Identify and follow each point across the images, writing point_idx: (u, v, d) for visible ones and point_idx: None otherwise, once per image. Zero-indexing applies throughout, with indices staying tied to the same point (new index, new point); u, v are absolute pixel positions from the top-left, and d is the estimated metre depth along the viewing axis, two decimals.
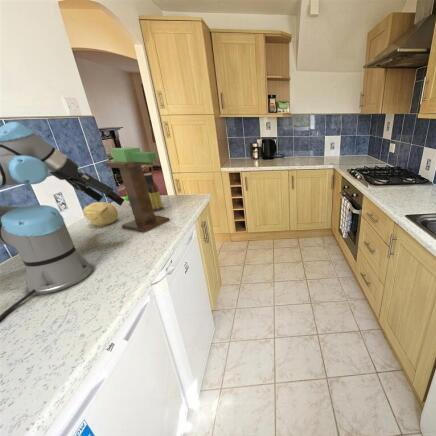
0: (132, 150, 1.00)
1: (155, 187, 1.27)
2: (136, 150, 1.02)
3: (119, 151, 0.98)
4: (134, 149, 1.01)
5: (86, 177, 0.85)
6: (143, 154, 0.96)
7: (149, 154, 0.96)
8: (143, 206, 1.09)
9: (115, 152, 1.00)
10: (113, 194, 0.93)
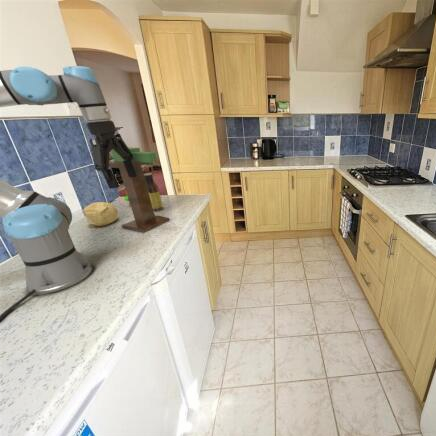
0: (132, 150, 1.00)
1: (155, 187, 1.27)
2: (136, 150, 1.02)
3: None
4: (134, 149, 1.01)
5: (94, 142, 0.77)
6: (143, 154, 0.96)
7: (149, 154, 0.96)
8: (143, 206, 1.09)
9: (115, 152, 1.00)
10: (105, 174, 0.81)
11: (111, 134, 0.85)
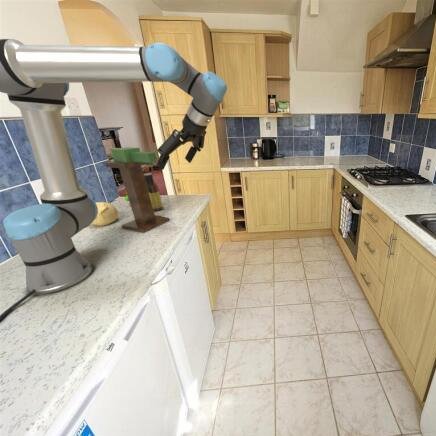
0: (132, 150, 1.00)
1: (155, 187, 1.27)
2: (136, 150, 1.02)
3: (119, 151, 0.98)
4: (134, 149, 1.01)
5: (175, 134, 0.79)
6: (143, 154, 0.96)
7: (149, 154, 0.96)
8: (143, 206, 1.09)
9: (115, 152, 1.00)
10: (161, 157, 0.84)
11: None
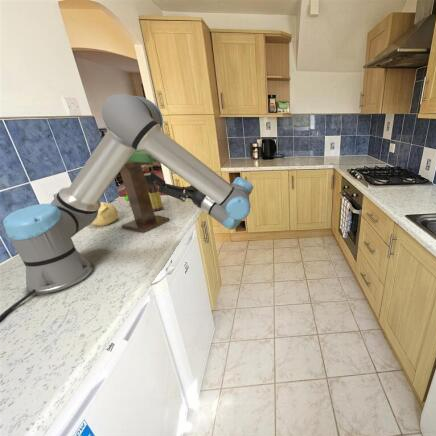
0: None
1: (155, 187, 1.27)
2: (136, 150, 1.02)
3: None
4: None
5: (182, 198, 0.90)
6: (143, 154, 0.96)
7: None
8: (143, 206, 1.09)
9: None
10: (158, 184, 0.90)
11: None
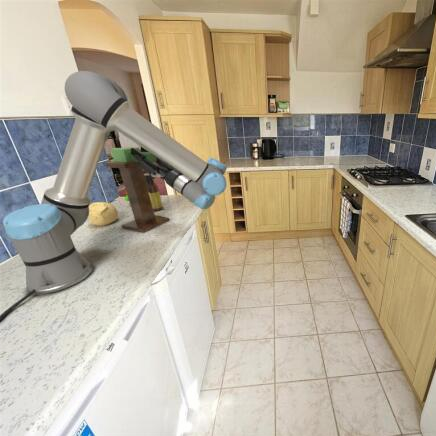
0: None
1: (155, 187, 1.27)
2: None
3: (119, 151, 0.98)
4: None
5: (151, 174, 0.92)
6: (143, 154, 0.96)
7: (149, 154, 0.96)
8: (143, 206, 1.09)
9: (115, 152, 1.00)
10: (137, 158, 0.96)
11: None
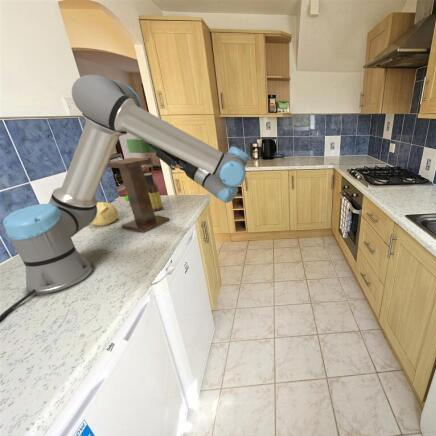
0: None
1: (155, 187, 1.27)
2: None
3: (135, 141, 0.93)
4: None
5: (171, 165, 0.86)
6: None
7: None
8: (143, 206, 1.09)
9: (130, 143, 0.94)
10: (155, 148, 0.90)
11: None
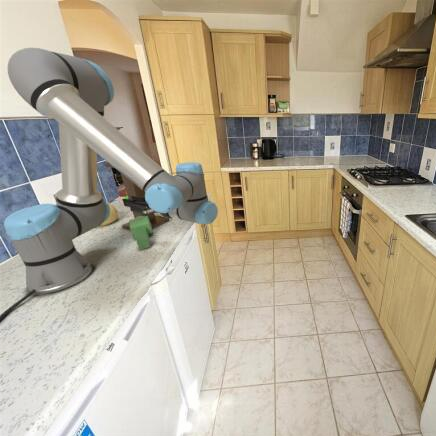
0: (140, 227, 1.00)
1: None
2: (145, 226, 1.01)
3: (130, 226, 1.00)
4: (143, 225, 1.00)
5: (143, 211, 0.80)
6: None
7: (139, 242, 0.92)
8: None
9: None
10: None
11: None
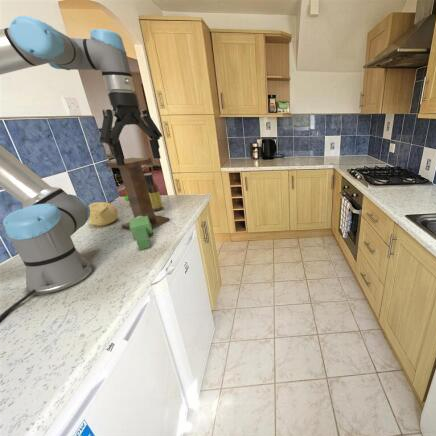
0: (140, 227, 1.00)
1: (155, 187, 1.27)
2: (145, 226, 1.01)
3: (130, 226, 1.00)
4: (143, 225, 1.00)
5: (105, 113, 0.72)
6: None
7: (139, 242, 0.92)
8: (143, 206, 1.09)
9: None
10: (112, 149, 0.75)
11: (133, 108, 0.78)
